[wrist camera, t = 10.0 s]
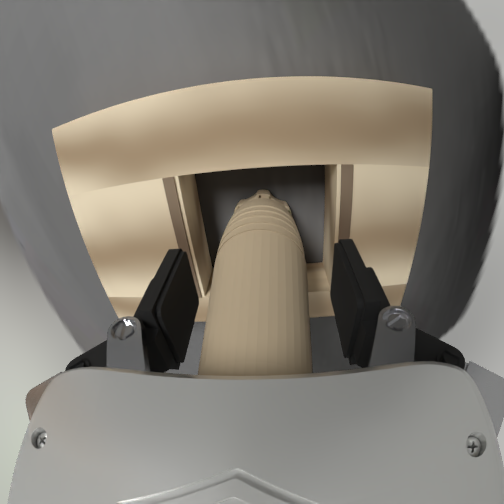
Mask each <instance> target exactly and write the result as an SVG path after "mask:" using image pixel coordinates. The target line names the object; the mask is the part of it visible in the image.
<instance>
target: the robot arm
mask: <svg viewBox="0 0 504 504" xmlns="http://www.w3.org/2000/svg"><path fill="white" fill-rule="evenodd" d="M330 298H331V302H332V306H333V311H334V315H335V319H336V323H337V327H338V332H339V336H340V341H341V345H342V350H343V354H344V357H345V358H349V362H350V365H352V364H357V365H358V366H360V367H362V368H358V369H350V370H341V371H332V372H321V373H308V374H292V375H269V376H212V375H188V374H173V373H166V371H167V370H169V369H177V370H179V366H180V362H181V363H183V362H184V360H185V356H186V352H187V348H188V344H189V340H190V336H191V333H192V329H193V325H194V321H195V317H196V314H197V310H198V306H199V297H198V293H197V290H196V286H195V282H194V278H193V275H192V271H191V267H190V263H189V259H188V255H187V252H186V251H184V252H183V250H182V249H169V250H168V251H167V253H166V255H165V257H164V259H163V261H162V263H161V265H160V267H159V269H158V271H157V272H156V274H155V276H154V278H153V279H152V280H151V281H150V283H149V285H148V287H147V289H146V291H145V293H144V295H143V297H142V299H141V301H140V304H139V306H138V308H137V310H136V312H135V314H134V316H126V317H122V318H119V319H117V320H116V321H114V322H113V323H112V324H111V325H110V327H109V329H108V332H107V340H106V341H104V342H103V343H101V344H99V345H97V346H96V347H94V348H92V349H90V350H89V351H87V352H85V353H83V354H82V355H80V356H79V357H76V358H75V359H73V360H72V361H71V362H70V363H69V364H68V365H67V367H66V370H65V371H64V372H60V373H58V374H56V375H55V376H53V377H51V378H49V379H48V380H46V381H44V382H43V383H41V384H39V385H38V386H36V387H34V388H33V389H31V390H30V391H29V392H28V394H27V396H26V407H27V412H28V416H29V420H30V423H29V425H28V428H27V431H26V433H25V436H24V439H23V442H22V445H21V449H20V451H19V455H18V458H17V461H16V465H15V469H14V473H13V478H12V482H11V487H10V493H9V498H8V504H504V467H503V462H502V457H501V453H500V449H499V445H498V441H497V435H498V433H499V430H500V427H501V424H502V421H503V417H504V379H503V378H502V377H500V376H498V375H496V374H494V373H493V372H490V371H489V370H487V369H485V368H483V367H481V366H479V365H477V364H475V363H473V362H469V363H466V362H465V359H464V357H463V355H462V353H461V352H460V351H459V350H458V349H456V348H455V347H453V346H451V345H449V344H447V343H445V342H443V341H441V340H439V339H437V338H435V337H433V336H431V335H429V334H427V333H425V332H423V331H421V330H419V329H417V328H416V322H415V317H414V316H413V314H412V313H411V312H410V311H409V310H407V309H405V308H404V307H400V306H390V303H389V301H388V299H387V297H386V295H385V292H384V290H383V288H382V286H381V284H380V282H379V280H378V278H377V276H376V274H375V272H374V270H373V268H372V267H366V266H365V264H364V262H363V260H362V258H361V256H360V254H359V252H358V249H357V247H356V245H355V243H354V241H353V240H352V239H339V241H338V243H335V244H334V254H333V266H332V278H331V288H330Z"/></svg>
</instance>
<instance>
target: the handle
mask: <svg viewBox="0 0 504 504" xmlns="http://www.w3.org/2000/svg"><path fill="white" fill-rule="evenodd" d="M291 214H292V213H291V210H290V208H289V206H288V204H287V203H286V201H281V200H279V199H277V198H275V197H274V196H272V194H271V193H270V191H268V190H264V189H262V190H258V191H257V193H256V194H255V195H253V196H252V197H250V198H247V199H241V200H240V201H239V202H238V204H237V206H236V208H235V210H234V214H233V216H232V217H231V219H230V221H229V222H228V225H227V227H226V229H225V231H224V234H223V236H222V238H221V241H220V245H219V248H218V252H217V256H216V260H215V264H214V271H213V277H212V284H211V291H210V298H209V305H208V312H207V319H206V325H205V332H204V338H203V344H202V351H201V357H200V364H199V370H198V375H212V376H269V375H292V374H308V373H313V372H312V352H311V335H310V317H309V297H308V280H307V267H306V260H305V254H304V249H303V244H302V240H301V237H300V234H299V232H298V229H297V226H296V224H295V222H294V219H293V218H292V216H291Z"/></svg>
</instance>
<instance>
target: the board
mask: <svg viewBox="0 0 504 504" xmlns="http://www.w3.org/2000/svg"><path fill="white" fill-rule="evenodd" d="M52 133H53V138H54V143H55V147H56V152H57V156H58V160H59V164H60V168H61V172H62V175H63V179H64V182H65V186H66V189H67V193H68V196H69V199H70V202H71V205H72V209H73V212H74V214H75V217H76V220H77V223H78V226H79V229H80V231H81V234H82V237H83V239H84V242H85V245H86V247H87V250H88V252H89V255H90V257H91V260H92V262H93V264H94V267H95V269H96V271H97V274H98V276H99V278H100V280H101V283H102V285H103V287H104V289H105V291H106V293H107V295H108V297H109V299H110V302H111V304H112V306H113V308H114V310H115V312H116V313H117V315H118V317H119V318H122V317H126V316H134V314H135V312H136V310H137V308H138V306H139V304H140V301H141V299H142V297H143V295H144V293H145V291H146V289H147V287H148V285H149V283H150V281H151V280H152V279H153V278H154V276H155V274H156V272H157V271H158V269H159V267H160V265H161V263H162V261H163V259H164V257H165V255H166V253H167V251H168V250H169V249H182V250H183V252H184V251H186V252H187V255H188V259H189V263H190V267H191V271H192V275H193V278H194V282H195V286H196V290H197V293H198V297H199V306H198V310H197V314H196V317H195V321H206V319H207V312H208V305H209V298H210V291H211V284H212V277H213V271H214V268H212V263H211V258H210V253H209V249H208V244H207V239H206V233H205V228H204V223H203V218H202V212H201V207H200V202H199V196H198V190H197V185H196V179H195V174H197V173H205V172H215V171H224V170H235V169H246V168H260V167H275V166H294V165H325V216H324V245H323V262H321V263H306V267H307V280H308V297H309V317H310V318H312V317H326V316H335V315H334V311H333V306H332V302H331V298H330V288H331V278H332V266H333V254H334V244H335V243H338V241H339V239H352V240H353V241H354V243H355V245H356V247H357V249H358V252H359V254H360V256H361V258H362V260H363V262H364V264H365V266H366V267H372V268H373V270H374V272H375V274H376V276H377V278H378V280H379V282H380V284H381V286H382V288H383V290H384V292H385V295H386V297H387V299H388V301H389V303H390V306H400V305H401V301H402V298H403V295H404V291H405V288H406V284H407V281H408V277H409V274H410V270H411V266H412V262H413V258H414V254H415V249H416V245H417V240H418V236H419V231H420V226H421V220H422V215H423V209H424V203H425V196H426V189H427V181H428V173H429V163H430V152H431V137H432V89H430V88H426V87H420V86H415V85H409V84H403V83H396V82H389V81H381V80H372V79H361V78H348V77H325V76H292V77H269V78H255V79H244V80H235V81H226V82H219V83H212V84H205V85H199V86H194V87H188V88H183V89H178V90H173V91H168V92H164V93H160V94H155V95H151V96H147V97H143V98H140V99H136V100H132V101H129V102H125V103H122V104H119V105H115V106H112V107H109V108H106V109H103V110H100V111H97V112H94V113H92V114H89V115H86V116H83V117H81V118H78V119H76V120H73V121H71V122H68V123H66V124H63V125H61V126H58V127H56V128H54V129H52Z"/></svg>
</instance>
